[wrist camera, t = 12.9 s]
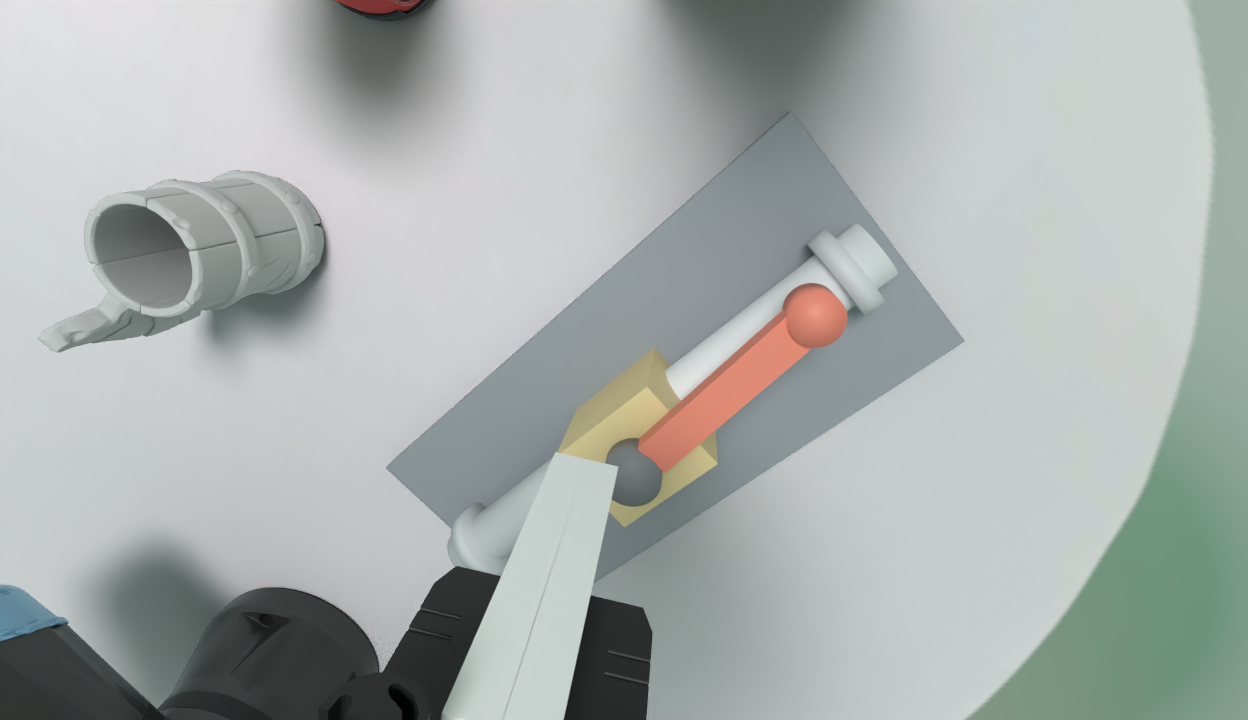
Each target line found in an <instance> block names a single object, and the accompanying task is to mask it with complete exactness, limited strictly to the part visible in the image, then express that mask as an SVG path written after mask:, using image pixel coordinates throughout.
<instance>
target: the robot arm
mask: <svg viewBox="0 0 1248 720" xmlns="http://www.w3.org/2000/svg"><path fill="white" fill-rule="evenodd" d="M617 471H618V466H614V465H610V464H605V463H601V462H597V461H592V460H588V459H584V458H579V457H575V456H571V455H566V454H562V453H557V452H555V454H554V456H553V458H552V461H551V463H550V465H549V468H548V470H547V472H546V475H545V477H544V479H543V481H542V484H541V486H540V488H539V491H538V493H537V495H536V498H535V500H534V502H533V504H532V507H531V509H530V511H529V514H528V516H527V518H526V521H525V523H524V525H523V527H522V530H521V532H520V534H519V537H518V539H517V541H516V544H515V546H514V548H513V550H512V553H511V555H510V557H509V560H508V562H507V564H506V567H505V569H504V571H503V573H502V576H498V575H494V574H490V573H486V572H481V571H477V570H473V569H469V568H464V567H460V566H456V567H455V568H453V569H452V570H451V571H449V572H448V573H447V574H445V575H444V576H443V577H442V578H440V579H439V580H438V581H436V582H435V583H434V585H433V586H432V588H431V590H430V592H429V593H428V595H427V597H426V598H425V600H424V602H423V604H422V605H421V608H420V611H418V612H417V614H416V616H415V617H414V619H413V621H412V623H411V624H410V626H409V630H408V631H406V633H405V635H404V636H403V638H402V640H401V641H400V643H399V645H398V647H397V648H396V650H395V652H394V654H393V655H392V657H391V659H390V660H389V662H388V664H387V666H386V667H385V669H384V671H383V672H382V673H379V672H378V664H377V659H376V656H375V653H374V651H373V649H372V647H371V645H370V643H369V641H368V640H367V638H366V637H365V635H364V634H363V633H362V631H361V630H360V629H359V628H358V627H357V626H356V625H355V624H354V623H353V622H352V621H351V620H350V619H349V618H348V617H347V616H346V615H344V614H343V613H342V612H340V611H339V610H337V609H336V608H334V607H333V606H331V605H330V604H328V603H326V602H324V601H322V600H320V599H318V598H316V597H313V596H311V595H308V594H305V593H302V592H298V591H294V590H289V589H282V588H264V589H257V590H253V591H249V592H247V593H244V594H242V595H240V596H238V597H237V598H235V599H234V600H233V601H232V602H231V603H230V604H229V605H228V606H227V607H226V608H225V609H224V610H223V611H222V612H221V613H220V614H219V615H218V616H217V617H216V618H215V619H214V620H213V621H212V622H211V623H210V625H209V626H208V627H207V629H206V630H205V632H204V634H203V636H202V638H201V640H200V642H199V643H198V645H197V647H196V649H195V651H194V653H193V655H192V657H191V658H190V660H189V662H188V664H187V666H186V668H185V670H184V672H183V673H182V675H181V677H180V679H179V681H178V683H177V685H176V687H175V689H174V690H173V692H172V693H171V695H170V696H169V697H168V698H167V699H166V700H165V701H164V703H163V704H162V705H161V706H160V707H159V708H158V709H156V708H155V707H154V706H153V705H152V704H151V703H150V702H149V701H148V700H147V699H146V698H145V697H144V696H142V695H141V694H140V693H139V692H138V691H137V690H136V689H135V688H134V687H133V686H132V685H130V684H129V683H128V682H127V681H126V680H125V679H124V678H123V677H122V676H121V675H120V674H118V673H117V672H116V671H115V670H114V669H113V668H112V667H111V666H110V665H109V664H108V663H107V662H106V661H105V660H104V659H103V658H101V657H100V656H99V655H98V654H97V653H96V652H95V651H94V650H93V649H92V648H91V647H90V646H89V645H88V644H87V643H86V642H85V641H84V640H83V639H82V638H81V637H80V636H78V635H77V634H76V633H75V632H74V631H73V630H72V629H71V628H70V627H69V626H68V625H67V624H68V621H67V619H65V618H63V617H57V616H56V615H54V614H53V613H52V612H50V611H49V610H48V609H46V608H45V607H44V606H43V605H41V604H40V603H39V602H38V601H37V600H35V599H34V598H33V597H32V596H30V595H29V594H28V593H27V592H25V591H24V590H22V589H20V588H18V587H15V586H11V585H0V720H646V714H647V701H648V683H649V673H650V659H651V646H652V630H651V628H650V625H649V622H648V620H647V617H646V614H645V612H644V609H643V608H641V607H637V606H633V605H629V604H625V603H620V602H616V601H612V600H608V599H603V598H599V597H595V596H591V591H592V586H593V582H594V577H595V573H596V568H597V563H598V559H599V554H600V549H601V545H602V540H603V536H604V531H605V526H606V522H607V517H608V513H609V508H610V503H611V499H612V494H613V490H614V485H615V480H616V476H617Z"/></svg>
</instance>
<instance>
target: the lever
mask: <svg viewBox="0 0 1248 720" xmlns="http://www.w3.org/2000/svg"><path fill="white" fill-rule="evenodd" d="M846 325H847V311H846V309H845V306H844V305H843V303H842V302H841V301H840V300H839V299H838V298H837V297H836V296H835V295H834V293H833V292H832V291H831V290H830V289H829V288H827V287H826V286H824V285H821V284H818V283H806V284H802V285H800V286H797V287H796V288H794V289H793V290H792V291H791V292H790V293H789V294H788V295H787V296H786V298H785V300H784V302H783V306H782V311H781V312H780V313H779V314H777V315H776V316H775V317H774V318H773V319H772V320H771V321H770V322H769V323H767V324H766V325H765V326H764V327H763V328H762V329H761V330H760V331H759V332H757V333H756V334H755V335H754V336H753V337H752V338H751V339H750V340H748V341H747V342H746V343H745V344H744V345H743V346H742V347H741V348H740V349H738V350H737V351H736V352H735V353H734V354H733V355H732V356H731V357H729V358H728V359H727V360H726V361H725V362H724V363H723V364H722V365H721V366H719V367H718V368H717V369H716V370H715V371H714V372H713V373H712V374H711V375H709V376H708V377H707V378H706V379H705V380H704V381H703V382H702V383H700V384H699V385H698V386H697V387H696V388H695V389H694V390H693V391H692V392H690V393H689V394H688V395H687V396H686V397H685V398H684V399H683V400H682V401H680V402H679V403H678V404H677V405H676V406H675V407H674V408H673V409H671V410H670V411H669V412H668V413H667V414H666V415H665V416H664V417H663V418H661V419H660V420H659V421H658V422H657V423H656V424H655V425H654V426H652V427H651V428H650V429H649V430H648V431H647V432H646V433H645V434H644V435H642V436H641V437H640V438H639V439H638V438H628V439H624V440H621V441H619V442H617V443H616V444H614V445H613V446H612V447H611V449H610V450H609V452H608V454H607V458H606V461H605V464H610V465H614V466H618V471H617V476H616V480H615V485H614V490H613V494H612V500H613V501H615V502H617V503H619V504H621V505H624V506H629V507H638V506H643V505H646V504H648V503H650V502H651V501H653V500H654V499H655V498H656V497H657V495H658V494H659V492H660V489H661V484H662V474H663V472H664V473H666V472H667V471H668V470H669V469H671V468H672V467H673V466H674V465H675V464H677V463H678V462H679V461H680V460H681V459H682V458H684V457H685V456H686V455H687V454H688V453H690V452H691V451H692V450H693V449H694V448H695V447H697V446H698V445H699V444H700V443H701V442H702V441H704V440H705V439H706V438H707V437H708V436H710V435H711V434H712V433H713V432H714V431H715V430H717V429H718V428H719V427H720V426H721V425H723V424H724V423H725V422H726V421H727V420H728V419H730V418H731V417H732V416H733V415H734V414H736V413H737V412H738V411H739V410H740V409H741V408H743V407H744V406H745V405H746V404H747V403H748V402H750V401H751V400H752V399H753V398H754V397H756V396H757V395H758V394H759V393H760V392H761V391H763V390H764V389H765V388H766V387H767V386H769V385H770V384H771V383H772V382H773V381H774V380H776V379H777V378H778V377H779V376H780V375H781V374H783V373H784V372H785V371H786V370H787V369H789V368H790V367H791V366H792V365H793V364H794V363H796V362H797V361H798V360H799V359H800V358H802V357H803V356H804V355H805V354H806V353H807V352H809V351H810V350H811V349H812V348H820V347H825V346H828V345H830V344H832V343H833V342H835V341H836V340H837V339H838V338H839V337H840V336H841V335H842V334H843V332H844V330H845V328H846Z"/></svg>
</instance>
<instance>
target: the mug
mask: <svg viewBox="0 0 1248 720" xmlns="http://www.w3.org/2000/svg"><path fill="white" fill-rule="evenodd" d="M319 223H321V221H320V218H319V216H318V214H317V212H316V210H315V209H314V207H313V206H312V204H311V203H310V202H309V200H308V199H307V198H306V197H305V195H304V194H303V193H302V192H300V191H299V190H298V189H297V188H296V187H294V186H293V185H291V184H290V183H288V182H286V181H284V180H281V179H279V178H276V177H271V176H268V175H265V174H262V173H258V172H253V171H240V170H234V171H229V172H228V173H226V174H222V175H220V176H218V177H216V178H214V179H213V180H211V181H208V182H201V183H195V182H190V181H177V180H176V179H168V180H163V181H161V182H158V183H156V184H154V185H152V186H150V187H148V188H147V189H145V190H141V191H133V192H125V193H118V194H113V195H110V196H107V197H105V198H103V199H102V200H101V201H100V202H99V203H98V204H97V206H96V207H95V209H92V210H90V212H89V214H88V216H87V219H86V222H85V228H84V245H85V250H86V253H87V257H88V260H89V262H90V263H93V264H97V265H95V266H94V267H93V271H94V272H95V275H96V277H97V278H98V280H99V281H100V282H101V284H102V285H103V286H104V287H105V288H106V289H107V290H108V291H109V293H108V294H107V295H106V296H105V298H104V299H103V301H102V302H101V304H100V305H98V306H97V307H95V308H93V309H90V310H87V311H85V312H83V313H81V314H78V315H76V316H73V317H70V318H68V319H65V320H63V321H60V322H58V323H56V324H54V325H52V326H51V327H49V328H48V329H46V330H45V331H43V332H42V333H41V334H40V335H39V336H38V340H40V341H41V342H42V343H43V344H45V345H46V346H47V347H49V348H50V349H51V350H53V351H54V352H62V351H64V350H67V349H69V348H72V347H76V346H79V345H83V344H88V343H98V342H104V341H112V340H124V339H127V338H133V337H139V336H141V335H143V336H151V335H155V334H157V333H160V332H163V331H165V330H169V329H170V328H172V327H175V326H177V325H179V324H182V323H184V322H186V321H189V320H191V319H193V318H195V317H197V316H199V315H200V313H201V311H202V310H212V311H217V310H222V309H225V308H227V307H228V306H230V305H232V304H234V303H236V302H238V301H239V300H240V299H241V298H243V297H246V296H249V295H252V294H255V293H263V294H267V293H268V294H270V295H274V294H278V293H280V292H282V291H286V290H289V289H291V288H294V287H295V286H297V285H298V284H300V283H301V282H303V281H304V280H305V279H306V277H307V276H308V275H309V274H311V271H312V270H313V269H314V268H315V267H316V266H317V265H318V264H319V263H320V260H321V257H322V254H323V250H324V234H323V229H322V228H321V227H319V226H318V225H315V224H319Z"/></svg>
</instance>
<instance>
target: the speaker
mask: <svg viewBox="0 0 1248 720" xmlns="http://www.w3.org/2000/svg"><path fill="white" fill-rule="evenodd" d="M334 1H337V2H338V3H340V4H341V5H342V6H344V7H345V8H347V9H349V10H351V11H352V12H355V13H357V14H360V15H362V16H365V17H367V18H371V19H374V20H380V21H394V20H399V19H403V18H406V17H408V16H410V15H413V14H414V13H416V12H417V11H419V10H420V9H421V8H422V7H424V6H425V5H426V3H427V2H428V1H429V0H334Z"/></svg>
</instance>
